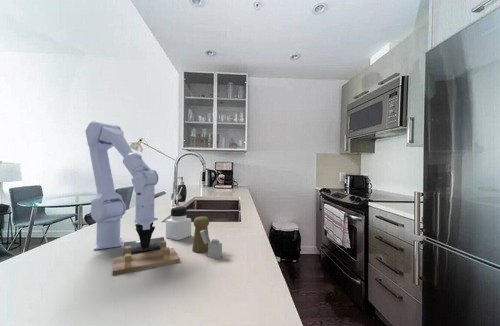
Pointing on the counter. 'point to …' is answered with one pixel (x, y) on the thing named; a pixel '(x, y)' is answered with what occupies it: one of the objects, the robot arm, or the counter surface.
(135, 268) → the stand
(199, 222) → the cork
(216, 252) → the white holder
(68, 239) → the counter surface
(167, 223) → the medicine bottle
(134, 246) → the tube
